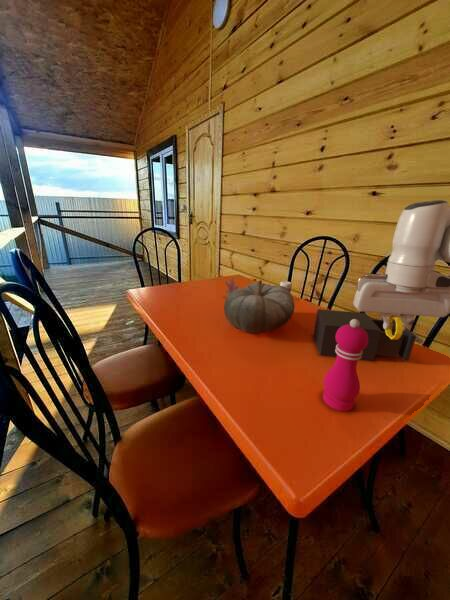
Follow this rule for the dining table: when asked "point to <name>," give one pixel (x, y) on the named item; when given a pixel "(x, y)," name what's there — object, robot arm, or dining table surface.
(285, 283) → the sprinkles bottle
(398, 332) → the watch
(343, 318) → the cabinet
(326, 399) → the pepper mill
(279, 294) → the gourd
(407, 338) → the drawer
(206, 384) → the dining table surface
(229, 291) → the lily
